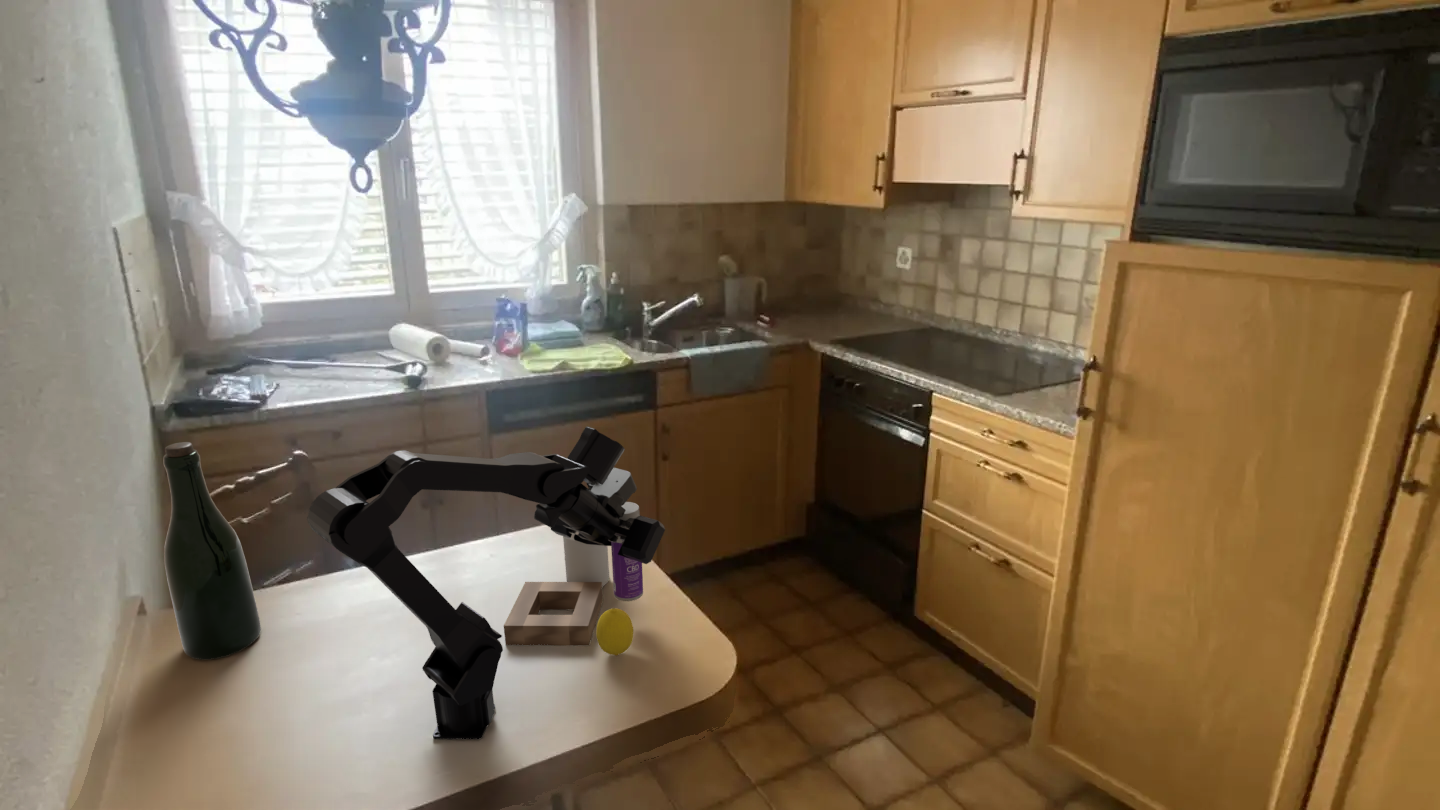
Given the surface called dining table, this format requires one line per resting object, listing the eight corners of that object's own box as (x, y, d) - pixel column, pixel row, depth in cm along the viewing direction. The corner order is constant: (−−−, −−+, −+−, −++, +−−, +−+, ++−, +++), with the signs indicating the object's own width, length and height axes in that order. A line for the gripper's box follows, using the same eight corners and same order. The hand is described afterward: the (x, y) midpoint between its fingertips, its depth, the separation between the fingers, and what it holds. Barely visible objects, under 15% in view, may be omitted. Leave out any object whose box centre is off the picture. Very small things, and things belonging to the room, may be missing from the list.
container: (630, 604, 123) (627, 516, 118) (607, 596, 125) (603, 509, 121) (649, 591, 127) (646, 505, 122) (626, 583, 129) (622, 499, 125)
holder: (505, 645, 122) (503, 625, 121) (527, 599, 134) (525, 581, 133) (589, 645, 122) (588, 625, 120) (603, 600, 134) (601, 581, 133)
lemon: (628, 668, 116) (625, 621, 114) (592, 663, 117) (589, 617, 115) (639, 646, 121) (637, 600, 119) (605, 642, 122) (602, 597, 120)
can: (606, 594, 136) (602, 531, 132) (563, 594, 136) (558, 531, 132) (612, 572, 143) (609, 512, 139) (571, 572, 143) (566, 512, 139)
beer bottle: (261, 650, 121) (217, 449, 111) (180, 670, 117) (127, 463, 107) (263, 616, 130) (223, 428, 120) (188, 634, 126) (140, 439, 116)
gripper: (655, 471, 111) (700, 515, 123) (558, 447, 120) (609, 489, 133) (621, 544, 107) (671, 581, 119) (523, 512, 117) (579, 550, 129)
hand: (632, 547), depth 125 cm, fingers closed on container, 5 cm apart
